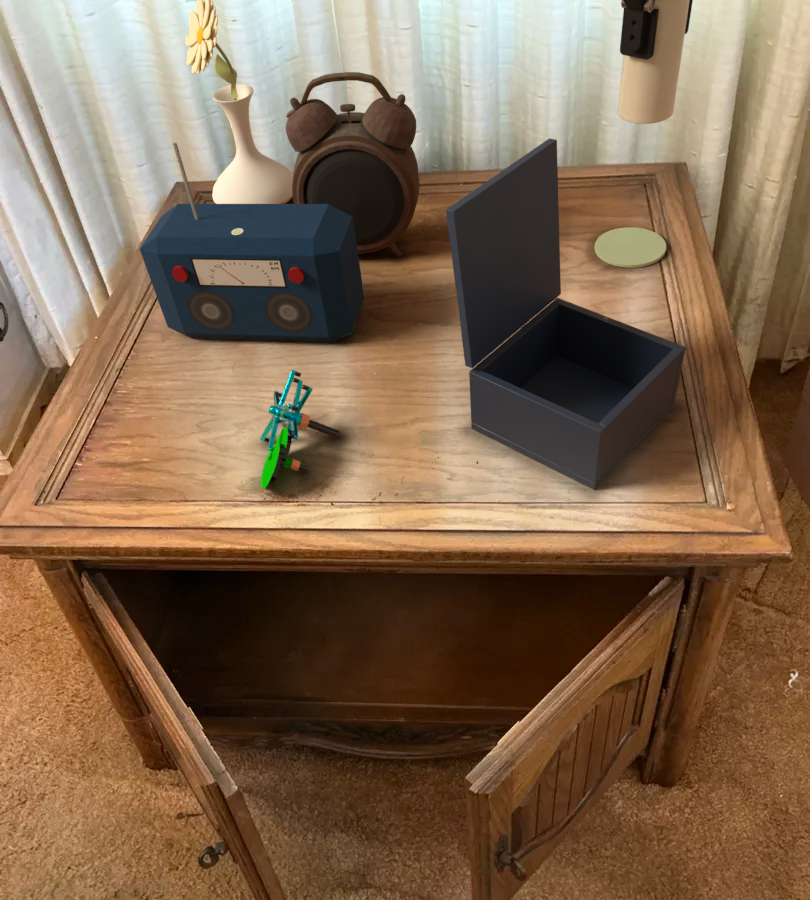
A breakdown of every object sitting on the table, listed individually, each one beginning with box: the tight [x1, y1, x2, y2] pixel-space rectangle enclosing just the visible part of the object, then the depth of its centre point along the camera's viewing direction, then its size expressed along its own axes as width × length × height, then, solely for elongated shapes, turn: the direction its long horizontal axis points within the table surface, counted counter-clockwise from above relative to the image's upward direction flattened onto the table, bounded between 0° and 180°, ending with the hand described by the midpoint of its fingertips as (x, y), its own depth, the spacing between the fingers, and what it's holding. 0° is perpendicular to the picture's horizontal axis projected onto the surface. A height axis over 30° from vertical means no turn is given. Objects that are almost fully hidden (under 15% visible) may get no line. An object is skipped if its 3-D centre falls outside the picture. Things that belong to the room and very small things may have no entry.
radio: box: [139, 142, 365, 343], centre depth 87 cm, size 21×9×20 cm, turn 80°
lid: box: [445, 138, 562, 369], centre depth 73 cm, size 14×14×1 cm
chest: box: [468, 297, 687, 490], centre depth 77 cm, size 14×14×7 cm
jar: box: [616, 0, 690, 125], centre depth 80 cm, size 6×6×12 cm
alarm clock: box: [285, 71, 420, 258], centre depth 95 cm, size 15×7×20 cm, turn 86°
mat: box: [594, 226, 667, 269], centre depth 97 cm, size 8×8×1 cm
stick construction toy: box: [259, 369, 341, 491], centre depth 79 cm, size 12×7×8 cm
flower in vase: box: [184, 0, 294, 204], centre depth 103 cm, size 13×11×25 cm
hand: (654, 42), depth 79 cm, fingers closed on jar, 5 cm apart
